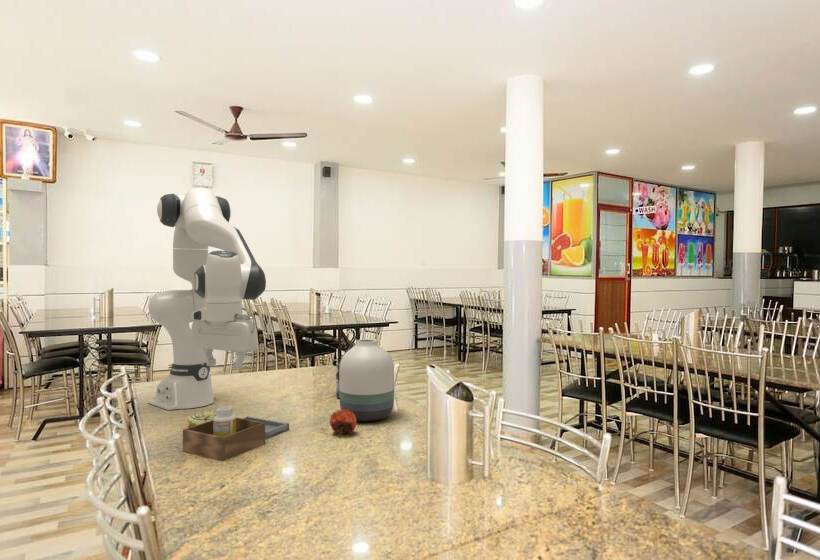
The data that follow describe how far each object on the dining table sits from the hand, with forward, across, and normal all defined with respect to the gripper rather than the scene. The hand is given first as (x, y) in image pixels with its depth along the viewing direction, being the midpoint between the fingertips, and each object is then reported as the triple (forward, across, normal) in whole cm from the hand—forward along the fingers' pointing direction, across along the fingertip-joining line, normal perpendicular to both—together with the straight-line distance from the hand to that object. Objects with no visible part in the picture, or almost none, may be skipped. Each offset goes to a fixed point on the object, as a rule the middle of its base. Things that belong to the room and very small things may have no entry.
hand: (224, 367), depth 133 cm
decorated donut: (+21, +19, -11) cm, 31 cm away
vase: (+21, -18, -40) cm, 49 cm away
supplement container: (+21, +1, -59) cm, 63 cm away
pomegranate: (+21, -21, -23) cm, 38 cm away
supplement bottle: (+21, 0, 0) cm, 21 cm away
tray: (+21, +3, -14) cm, 25 cm away
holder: (+21, 0, 0) cm, 21 cm away
